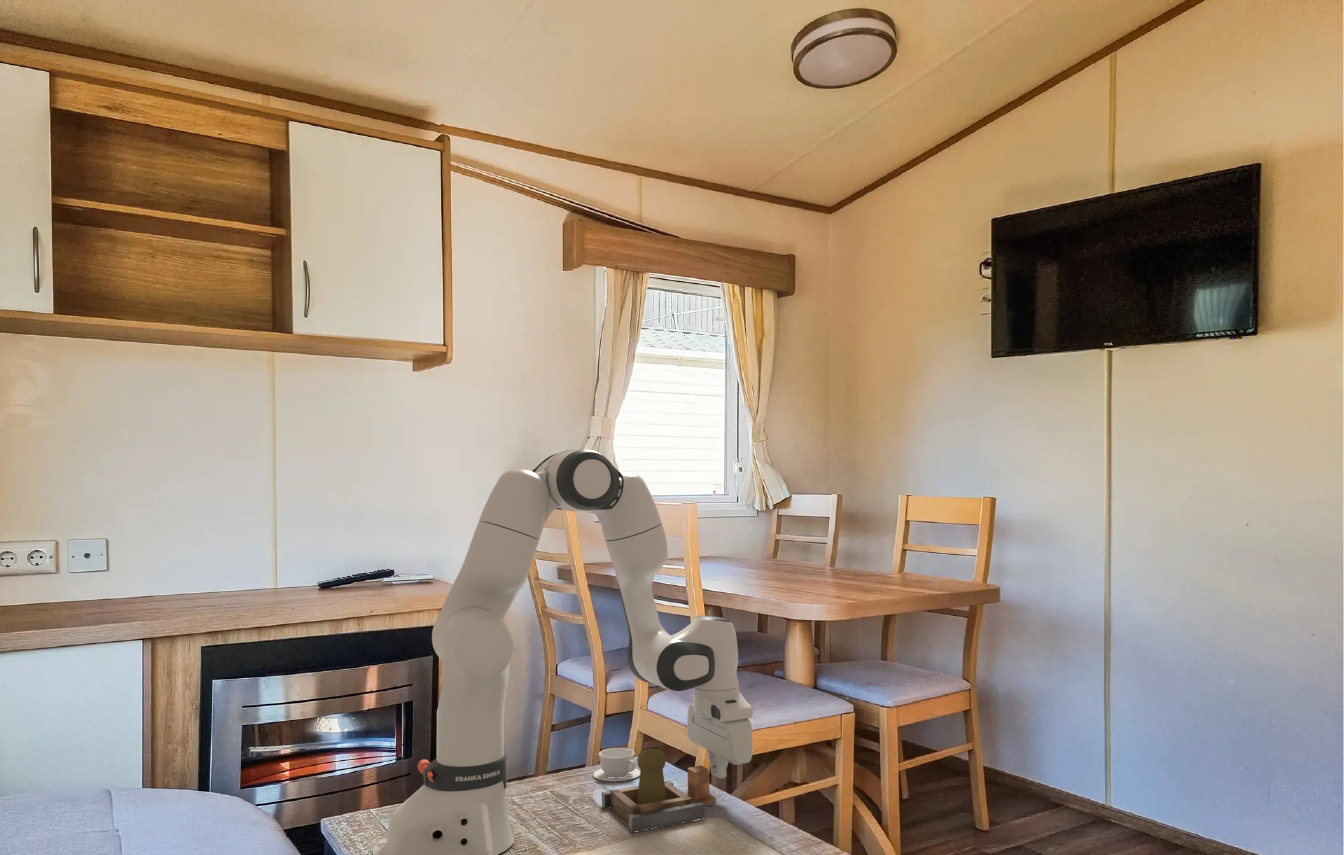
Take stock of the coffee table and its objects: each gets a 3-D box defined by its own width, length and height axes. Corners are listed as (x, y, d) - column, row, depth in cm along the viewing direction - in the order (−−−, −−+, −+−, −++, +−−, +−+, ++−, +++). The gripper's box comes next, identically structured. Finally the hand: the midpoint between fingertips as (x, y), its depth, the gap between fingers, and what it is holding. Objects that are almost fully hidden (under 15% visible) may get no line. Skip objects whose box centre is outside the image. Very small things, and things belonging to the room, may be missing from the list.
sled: (633, 827, 149) (632, 790, 150) (610, 807, 159) (610, 772, 160) (724, 810, 157) (723, 774, 157) (697, 792, 167) (697, 759, 167)
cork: (670, 807, 160) (669, 746, 161) (667, 819, 154) (665, 755, 155) (638, 806, 160) (637, 745, 161) (633, 818, 154) (632, 755, 155)
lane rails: (632, 833, 147) (632, 817, 147) (601, 806, 161) (601, 792, 161) (705, 819, 153) (704, 804, 153) (669, 794, 167) (669, 781, 167)
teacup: (583, 777, 179) (582, 754, 179) (616, 766, 186) (616, 743, 187) (617, 787, 172) (617, 762, 173) (651, 774, 180) (650, 751, 180)
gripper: (678, 693, 172) (680, 764, 171) (727, 714, 154) (729, 794, 153) (706, 689, 175) (708, 759, 174) (757, 710, 156) (760, 788, 155)
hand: (718, 776), depth 163 cm, fingers closed
